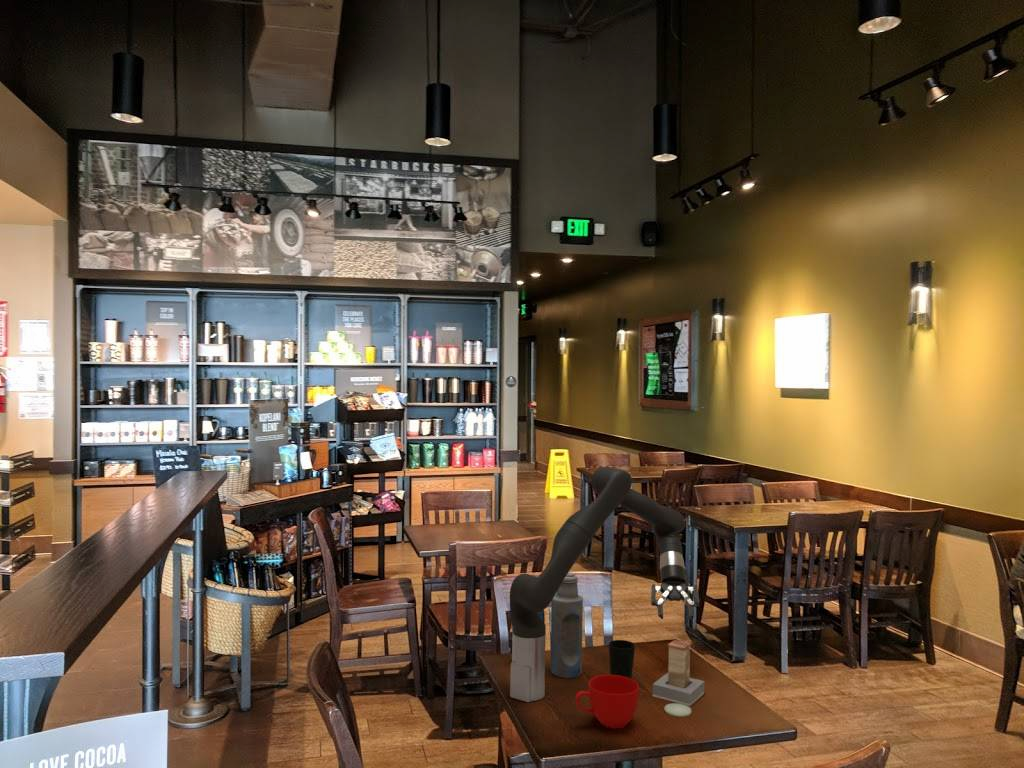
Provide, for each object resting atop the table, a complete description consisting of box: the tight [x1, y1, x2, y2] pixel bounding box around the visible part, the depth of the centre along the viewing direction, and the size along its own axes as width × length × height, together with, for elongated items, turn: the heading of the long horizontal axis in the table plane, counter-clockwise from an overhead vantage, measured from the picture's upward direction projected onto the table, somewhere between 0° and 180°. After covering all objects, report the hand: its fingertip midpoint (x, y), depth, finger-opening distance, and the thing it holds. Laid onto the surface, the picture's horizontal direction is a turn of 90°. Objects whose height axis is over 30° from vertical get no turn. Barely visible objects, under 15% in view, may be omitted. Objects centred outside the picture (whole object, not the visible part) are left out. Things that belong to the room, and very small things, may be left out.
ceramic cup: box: [575, 674, 640, 730], centre depth 191 cm, size 13×17×10 cm
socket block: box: [652, 672, 705, 707], centre depth 210 cm, size 11×11×3 cm
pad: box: [664, 702, 692, 718], centre depth 199 cm, size 7×7×1 cm
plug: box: [667, 639, 692, 689], centre depth 210 cm, size 5×5×14 cm
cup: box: [608, 639, 636, 680], centre depth 216 cm, size 8×8×12 cm
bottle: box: [549, 571, 584, 679], centre depth 226 cm, size 10×10×30 cm
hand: (676, 618), depth 221 cm, fingers open, 8 cm apart
